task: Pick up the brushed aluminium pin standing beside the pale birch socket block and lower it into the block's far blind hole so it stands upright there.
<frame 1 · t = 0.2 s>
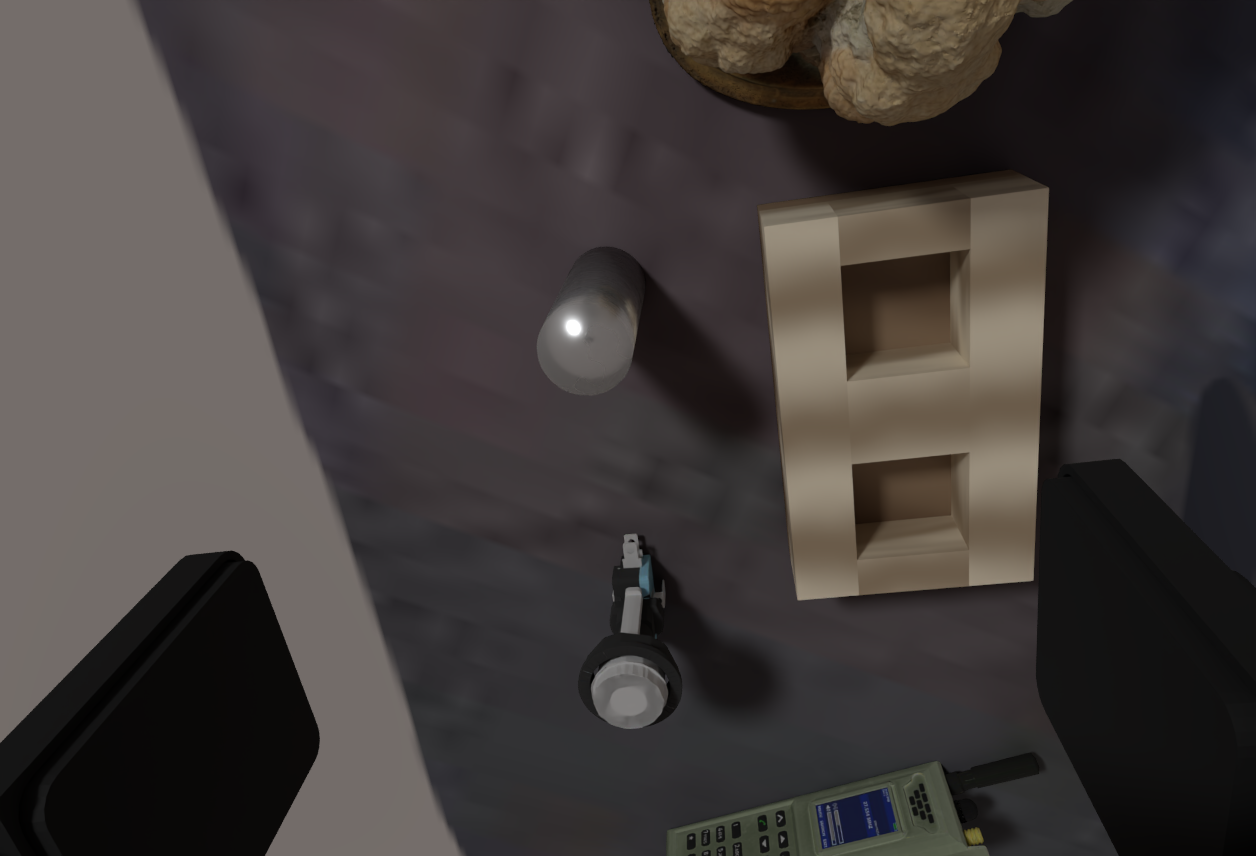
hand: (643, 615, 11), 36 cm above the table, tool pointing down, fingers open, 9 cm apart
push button: (639, 574, 53), on the table
handheld radio: (841, 793, 60), on the table
pin: (606, 284, 46), on the table
socket block: (888, 378, 47), on the table
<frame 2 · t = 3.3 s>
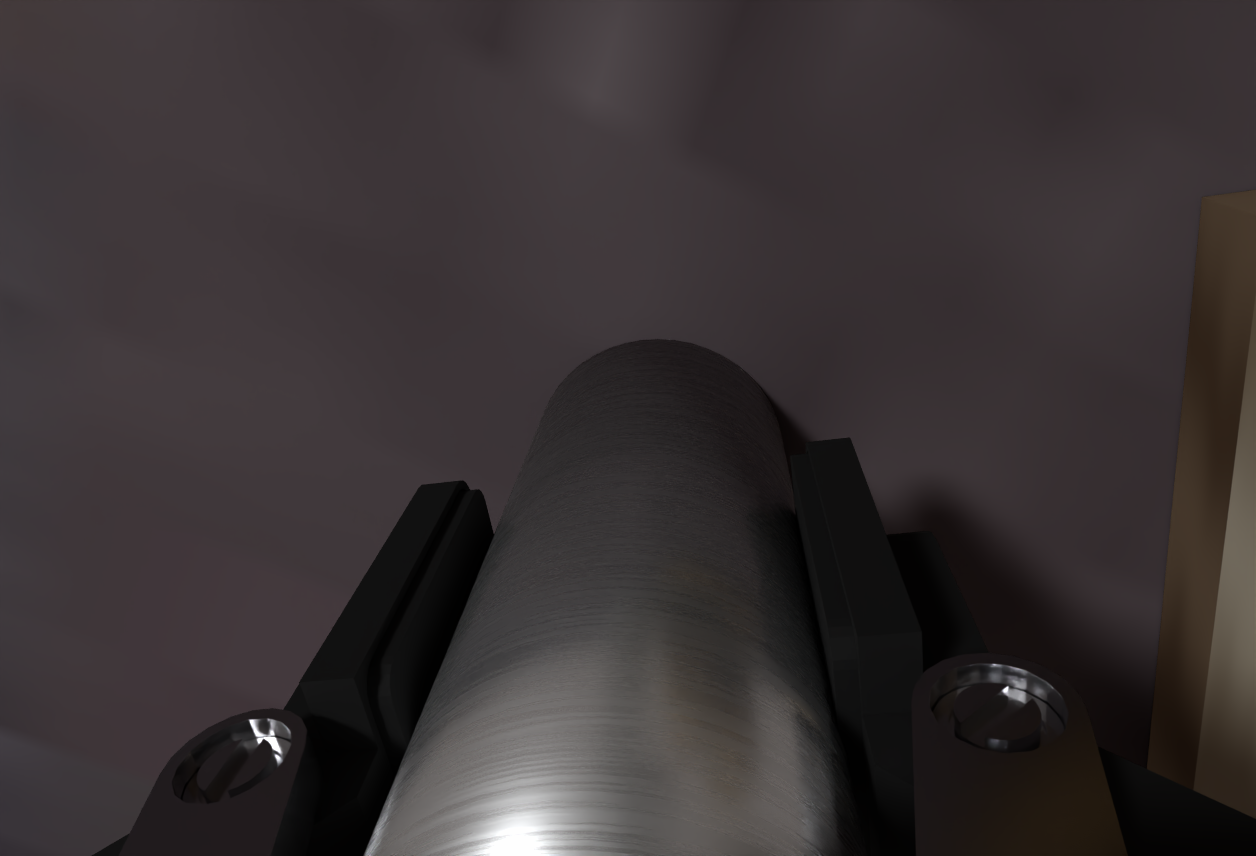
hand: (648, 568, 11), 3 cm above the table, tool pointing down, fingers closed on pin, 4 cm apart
pin: (659, 456, 14), on the table, touching gripper
when the fingers open (6 cm above the table, at t = 8.6 s): pin stays where it is, resting on socket block.
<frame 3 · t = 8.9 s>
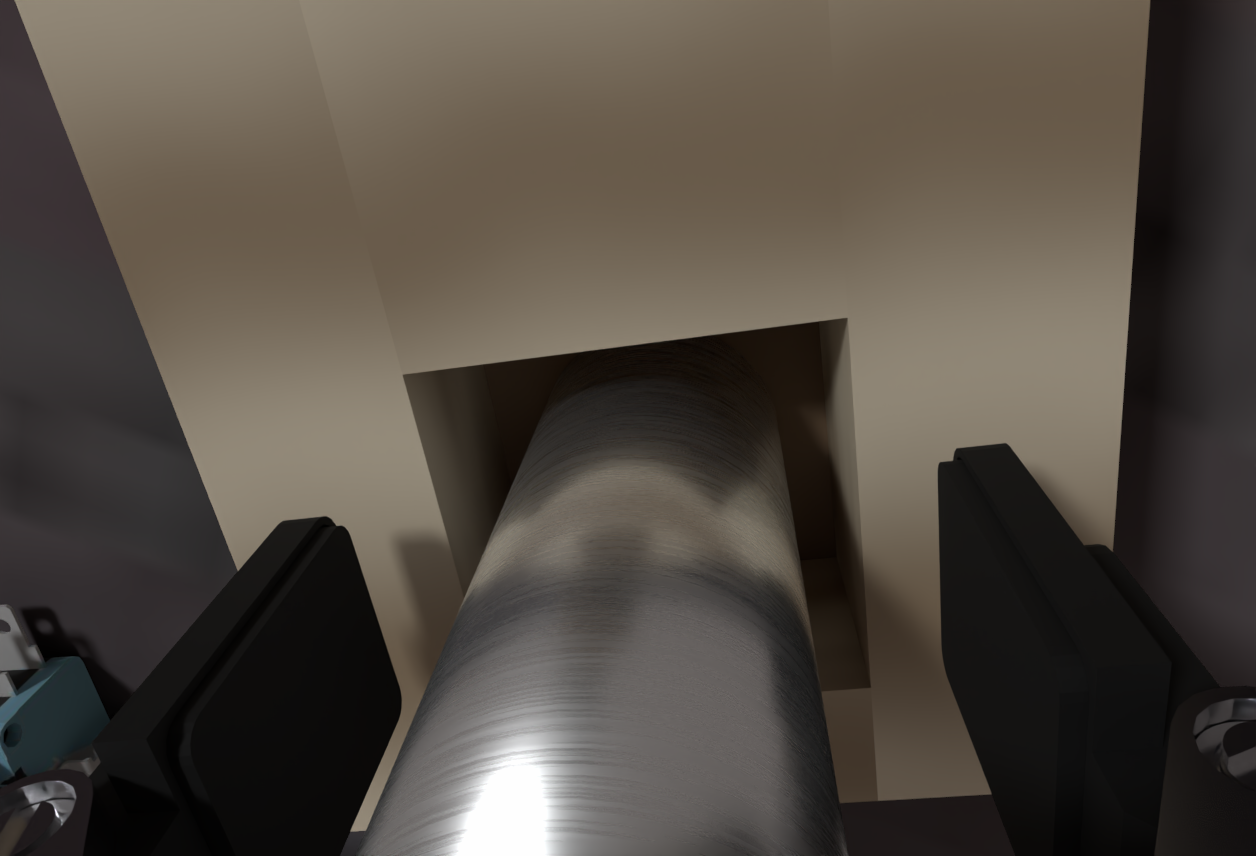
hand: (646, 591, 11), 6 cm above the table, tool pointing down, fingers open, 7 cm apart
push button: (76, 703, 21), on the table
pin: (660, 435, 15), point 2 cm above the table, touching socket block
socket block: (621, 123, 15), on the table
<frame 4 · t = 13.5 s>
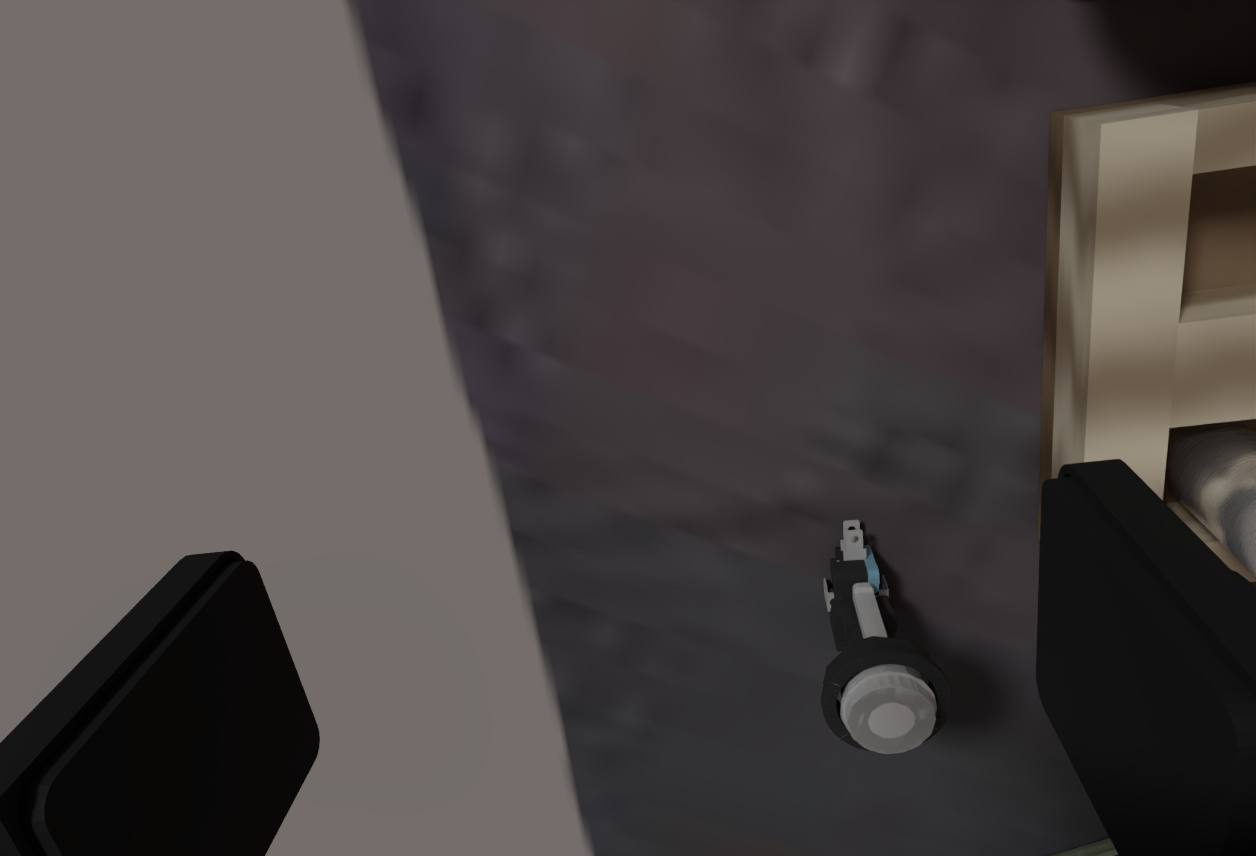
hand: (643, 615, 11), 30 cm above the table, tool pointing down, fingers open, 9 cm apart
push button: (852, 569, 45), on the table
handheld radio: (1075, 855, 53), on the table
pin: (1193, 446, 39), point 2 cm above the table, touching socket block
socket block: (1186, 328, 39), on the table
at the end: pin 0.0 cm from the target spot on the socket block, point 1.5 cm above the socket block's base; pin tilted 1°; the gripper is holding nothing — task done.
